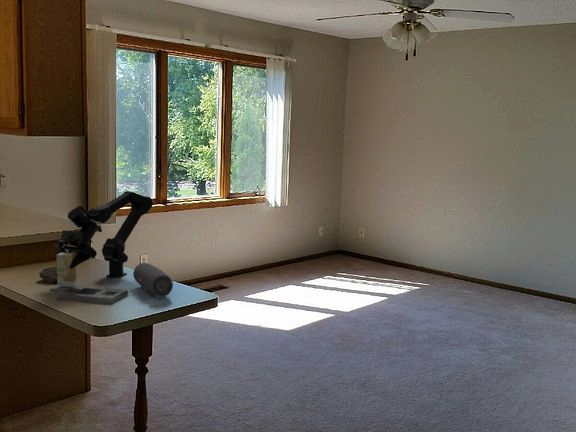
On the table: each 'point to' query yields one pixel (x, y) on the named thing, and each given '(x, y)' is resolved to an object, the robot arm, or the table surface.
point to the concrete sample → (49, 274)
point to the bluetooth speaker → (153, 280)
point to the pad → (63, 287)
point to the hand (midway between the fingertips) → (63, 266)
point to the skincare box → (66, 269)
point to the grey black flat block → (98, 294)
